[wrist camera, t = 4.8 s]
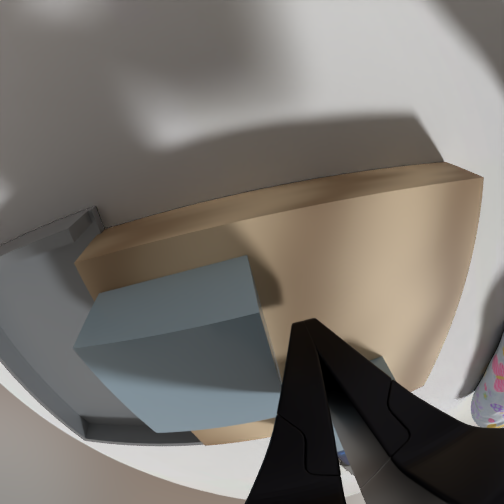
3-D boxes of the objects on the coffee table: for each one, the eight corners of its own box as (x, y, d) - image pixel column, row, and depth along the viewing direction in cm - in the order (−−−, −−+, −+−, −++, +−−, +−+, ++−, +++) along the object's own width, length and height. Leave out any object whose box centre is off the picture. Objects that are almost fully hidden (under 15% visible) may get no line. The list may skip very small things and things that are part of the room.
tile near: (247, 254, 8) (259, 312, 6) (276, 361, 10) (289, 413, 8) (98, 293, 8) (72, 348, 6) (161, 382, 10) (156, 433, 8)
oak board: (445, 161, 10) (483, 177, 7) (408, 360, 16) (423, 385, 14) (100, 230, 10) (74, 263, 7) (204, 414, 16) (205, 445, 14)
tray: (95, 205, 9) (72, 226, 7) (211, 420, 17) (212, 443, 15) (-34, 263, 9) (-52, 282, 7) (88, 421, 17) (84, 440, 15)
